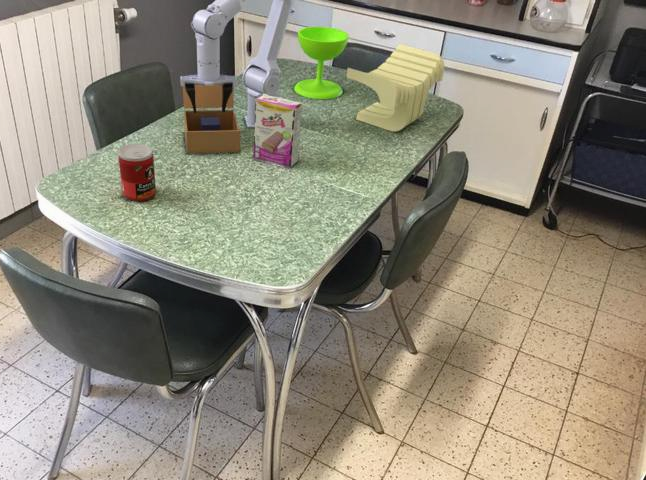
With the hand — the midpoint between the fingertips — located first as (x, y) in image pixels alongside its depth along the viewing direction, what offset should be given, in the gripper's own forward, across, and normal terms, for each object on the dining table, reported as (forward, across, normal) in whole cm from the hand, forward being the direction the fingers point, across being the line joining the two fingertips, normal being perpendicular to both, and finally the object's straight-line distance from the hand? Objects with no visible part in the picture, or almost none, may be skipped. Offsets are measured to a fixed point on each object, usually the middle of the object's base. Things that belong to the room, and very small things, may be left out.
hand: (209, 111), depth 172 cm
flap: (-2, 0, +6) cm, 7 cm away
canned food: (+8, -19, -29) cm, 35 cm away
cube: (+8, 0, 0) cm, 8 cm away
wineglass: (+8, +38, +35) cm, 53 cm away
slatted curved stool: (+8, +55, +10) cm, 57 cm away
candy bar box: (+8, +16, -14) cm, 23 cm away
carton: (+8, 0, -2) cm, 8 cm away
